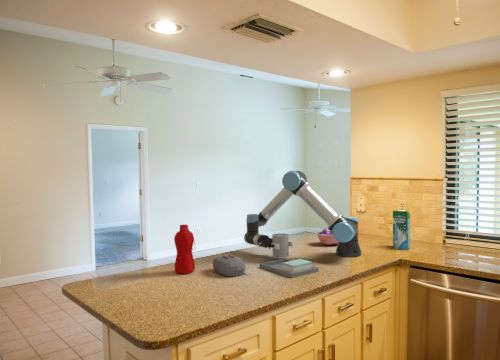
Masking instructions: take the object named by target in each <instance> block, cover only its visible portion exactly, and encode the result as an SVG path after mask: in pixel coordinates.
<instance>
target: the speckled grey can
mask: <svg viewBox="0 0 500 360" xmlns="http://www.w3.org/2000/svg"><path fill="white" fill-rule="evenodd" d="M271 236H272V237H271V238H272V242H273V243H275V244H279V249H275V248H272V257H274V258H279V259H284V258H288V257H289V256H290V254H289V253H290V250H289V249H290V246H289V244H288V241H289V234H288V233H273V234H272V235H271Z"/></svg>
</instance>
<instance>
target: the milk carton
mask: <svg viewBox="0 0 500 360" xmlns="http://www.w3.org/2000/svg"><path fill="white" fill-rule="evenodd" d="M392 248H393V249H395V250H403V251H404V250H406V251H407V250H409V249H411V213H410V211H406V210H405V209H399V210H392Z"/></svg>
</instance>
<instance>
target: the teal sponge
mask: <svg viewBox="0 0 500 360" xmlns="http://www.w3.org/2000/svg"><path fill="white" fill-rule="evenodd" d="M312 264H313V261H310V260H306V259H301V258H297V259H294V260H293V261H288V262H283V263H282V265H283V270H284V271H287V272H291V273H294V272H299V271H303V270H307V269H312V268H311V266H312Z"/></svg>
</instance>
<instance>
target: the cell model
mask: <svg viewBox="0 0 500 360" xmlns="http://www.w3.org/2000/svg"><path fill="white" fill-rule="evenodd" d="M315 235H316V236H317V239H318V240H319V242H320V244H322V245H324V246H325V245H326V246H333V245H338V242H339V241H337V240H336V239H335V238H334V237H333V235H332V233H331V231H330V230H327V228H324V229H322V230H321V231H317V232H315Z"/></svg>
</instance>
